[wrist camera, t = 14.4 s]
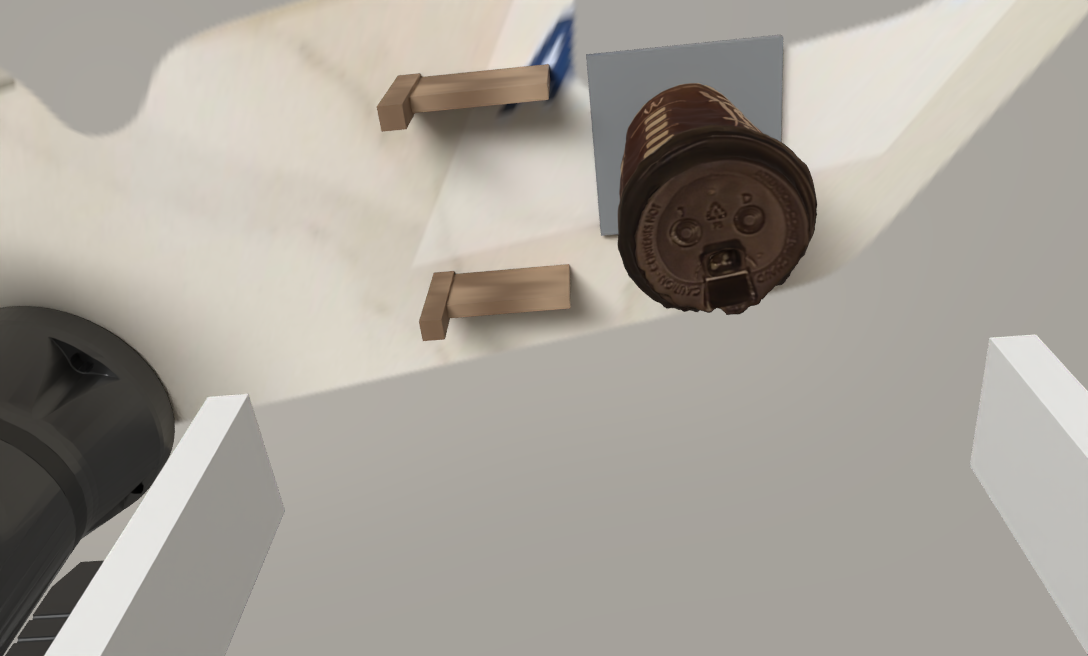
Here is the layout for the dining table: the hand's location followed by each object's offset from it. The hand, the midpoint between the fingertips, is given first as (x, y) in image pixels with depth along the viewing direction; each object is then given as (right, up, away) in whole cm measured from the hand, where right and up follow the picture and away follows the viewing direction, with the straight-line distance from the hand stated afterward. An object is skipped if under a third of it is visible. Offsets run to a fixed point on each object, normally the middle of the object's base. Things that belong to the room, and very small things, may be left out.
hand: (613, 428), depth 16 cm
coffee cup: (+6, +12, +33) cm, 35 cm away
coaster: (+6, +12, +33) cm, 36 cm away
